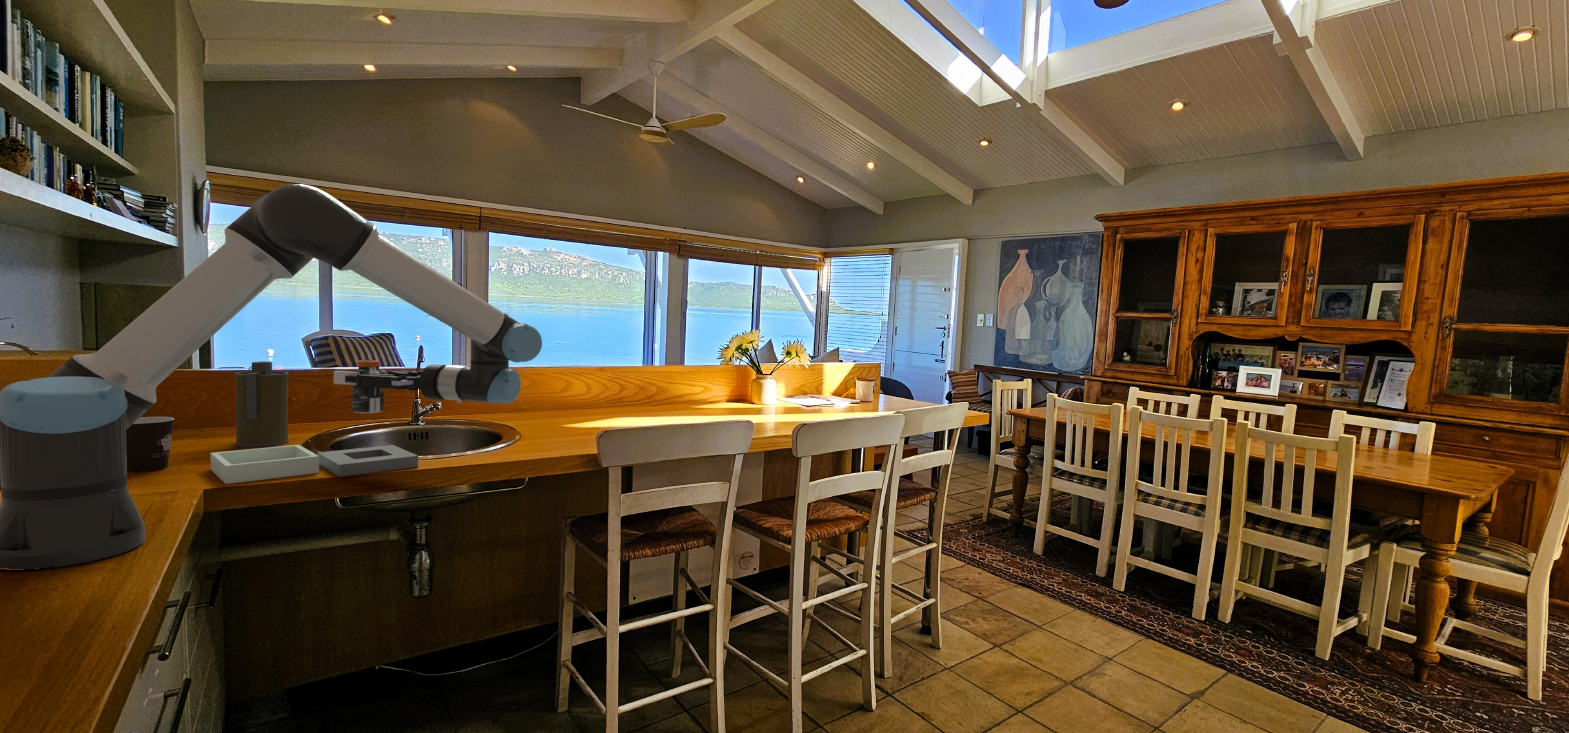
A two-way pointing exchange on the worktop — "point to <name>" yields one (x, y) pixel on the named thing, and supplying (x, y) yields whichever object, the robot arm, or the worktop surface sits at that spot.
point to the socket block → (367, 460)
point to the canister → (261, 406)
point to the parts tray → (263, 463)
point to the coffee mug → (149, 444)
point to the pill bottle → (368, 391)
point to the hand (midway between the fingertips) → (346, 376)
